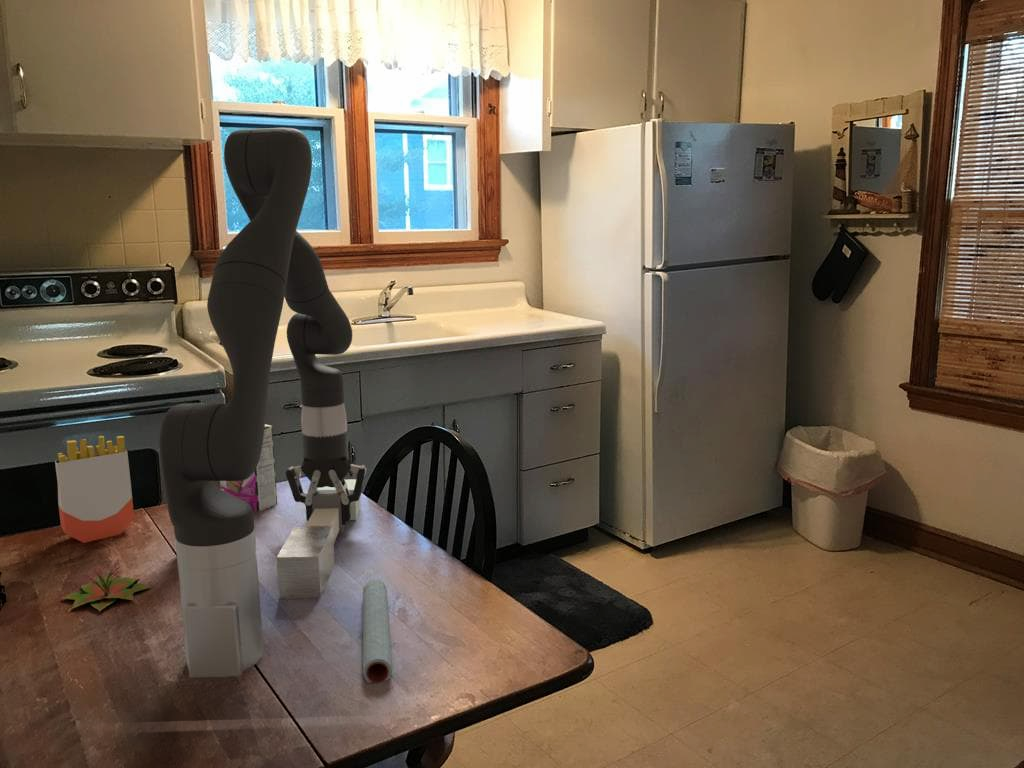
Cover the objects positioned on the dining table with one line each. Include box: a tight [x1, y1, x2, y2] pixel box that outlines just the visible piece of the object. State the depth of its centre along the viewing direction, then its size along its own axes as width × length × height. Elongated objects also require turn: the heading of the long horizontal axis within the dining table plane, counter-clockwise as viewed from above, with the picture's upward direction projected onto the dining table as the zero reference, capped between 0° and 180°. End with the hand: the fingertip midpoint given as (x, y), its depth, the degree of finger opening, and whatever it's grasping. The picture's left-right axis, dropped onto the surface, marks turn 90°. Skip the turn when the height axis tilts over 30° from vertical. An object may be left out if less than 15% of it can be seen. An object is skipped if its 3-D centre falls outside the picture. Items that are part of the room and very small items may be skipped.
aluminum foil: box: [362, 579, 393, 684], centre depth 110 cm, size 23×7×3 cm, turn 10°
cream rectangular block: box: [276, 525, 335, 600], centre depth 126 cm, size 6×12×6 cm, turn 2°
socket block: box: [317, 478, 362, 521], centre depth 152 cm, size 8×6×6 cm
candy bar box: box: [218, 423, 278, 512], centre depth 158 cm, size 11×5×16 cm, turn 58°
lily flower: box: [61, 562, 152, 612], centre depth 123 cm, size 12×12×5 cm
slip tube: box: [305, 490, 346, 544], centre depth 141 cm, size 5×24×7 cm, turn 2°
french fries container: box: [54, 435, 135, 544], centre depth 143 cm, size 5×11×18 cm, turn 128°
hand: (329, 523), depth 145 cm, fingers closed on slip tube, 4 cm apart
